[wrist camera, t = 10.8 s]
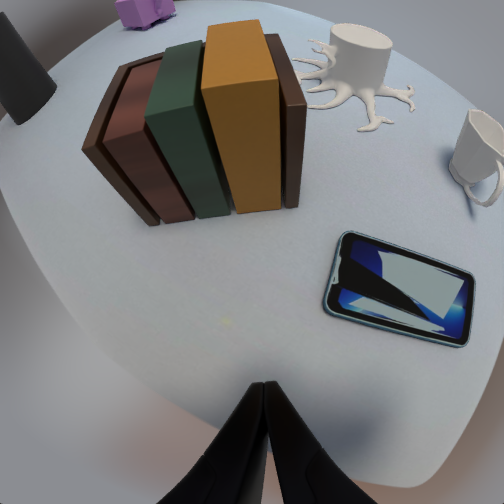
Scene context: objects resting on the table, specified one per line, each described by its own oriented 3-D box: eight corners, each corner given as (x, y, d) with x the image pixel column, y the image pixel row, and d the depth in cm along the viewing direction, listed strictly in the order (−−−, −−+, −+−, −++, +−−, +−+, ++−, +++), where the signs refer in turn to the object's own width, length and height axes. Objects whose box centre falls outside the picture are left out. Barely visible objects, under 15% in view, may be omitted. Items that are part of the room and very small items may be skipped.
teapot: (182, 15, 48) (172, -22, 36) (150, 31, 46) (136, -8, 34) (144, 15, 54) (134, -15, 42) (117, 30, 52) (104, -1, 40)
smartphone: (467, 349, 18) (321, 311, 20) (461, 350, 18) (318, 312, 21) (476, 274, 20) (342, 226, 22) (471, 276, 21) (340, 231, 23)
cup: (474, 159, 25) (502, 120, 18) (492, 225, 22) (532, 191, 15) (434, 144, 26) (459, 99, 19) (449, 213, 23) (488, 171, 16)
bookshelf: (298, 207, 25) (308, 91, 13) (148, 226, 26) (73, 140, 13) (281, 125, 29) (277, 23, 17) (159, 144, 30) (115, 58, 17)
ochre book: (281, 209, 25) (278, 78, 12) (237, 214, 25) (200, 88, 12) (268, 132, 28) (258, 18, 15) (232, 136, 29) (207, 25, 16)
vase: (15, 115, 43) (-35, 48, 16) (53, 80, 46) (9, 8, 19) (17, 132, 39) (-45, 53, 12) (60, 91, 41) (7, 4, 14)
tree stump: (267, 57, 35) (264, 15, 27) (370, 50, 35) (377, 14, 27) (325, 139, 27) (333, 81, 20) (443, 123, 28) (464, 82, 20)
